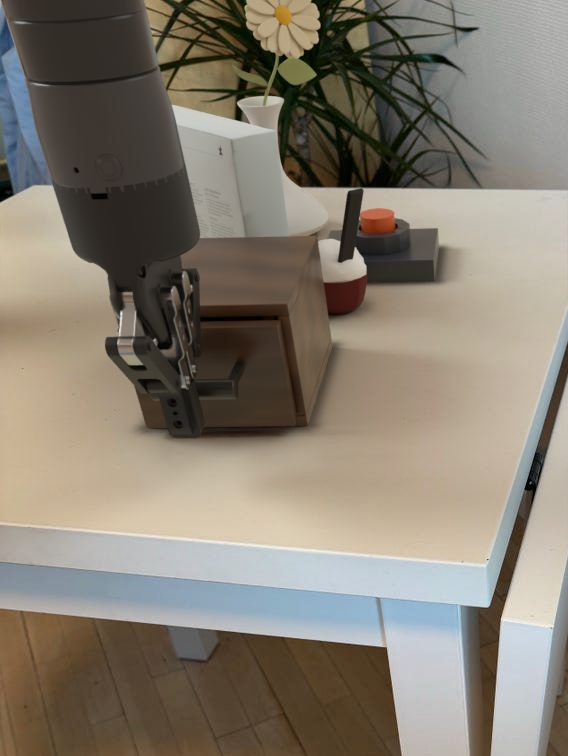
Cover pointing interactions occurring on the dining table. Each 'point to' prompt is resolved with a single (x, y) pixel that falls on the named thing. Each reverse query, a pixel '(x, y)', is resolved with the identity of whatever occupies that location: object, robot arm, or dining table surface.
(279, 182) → the skincare box
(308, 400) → the cabinet
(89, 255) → the robot arm
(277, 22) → the flower in vase
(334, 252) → the cocoa
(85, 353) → the dining table surface
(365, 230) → the button
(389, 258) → the console
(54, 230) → the dining table surface
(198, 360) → the drawer
